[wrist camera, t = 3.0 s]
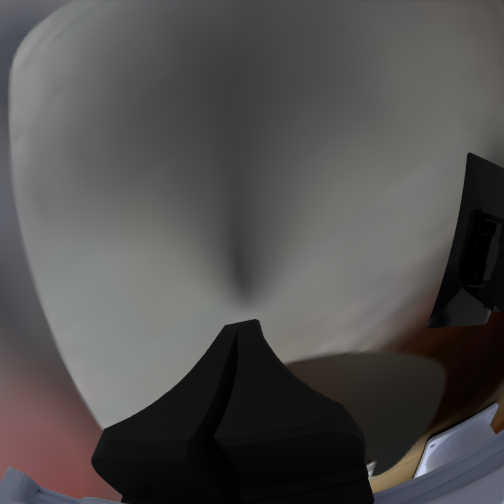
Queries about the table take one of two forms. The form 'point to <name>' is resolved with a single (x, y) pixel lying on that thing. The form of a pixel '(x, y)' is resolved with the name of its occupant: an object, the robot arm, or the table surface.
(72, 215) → the table surface
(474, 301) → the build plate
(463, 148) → the table surface
